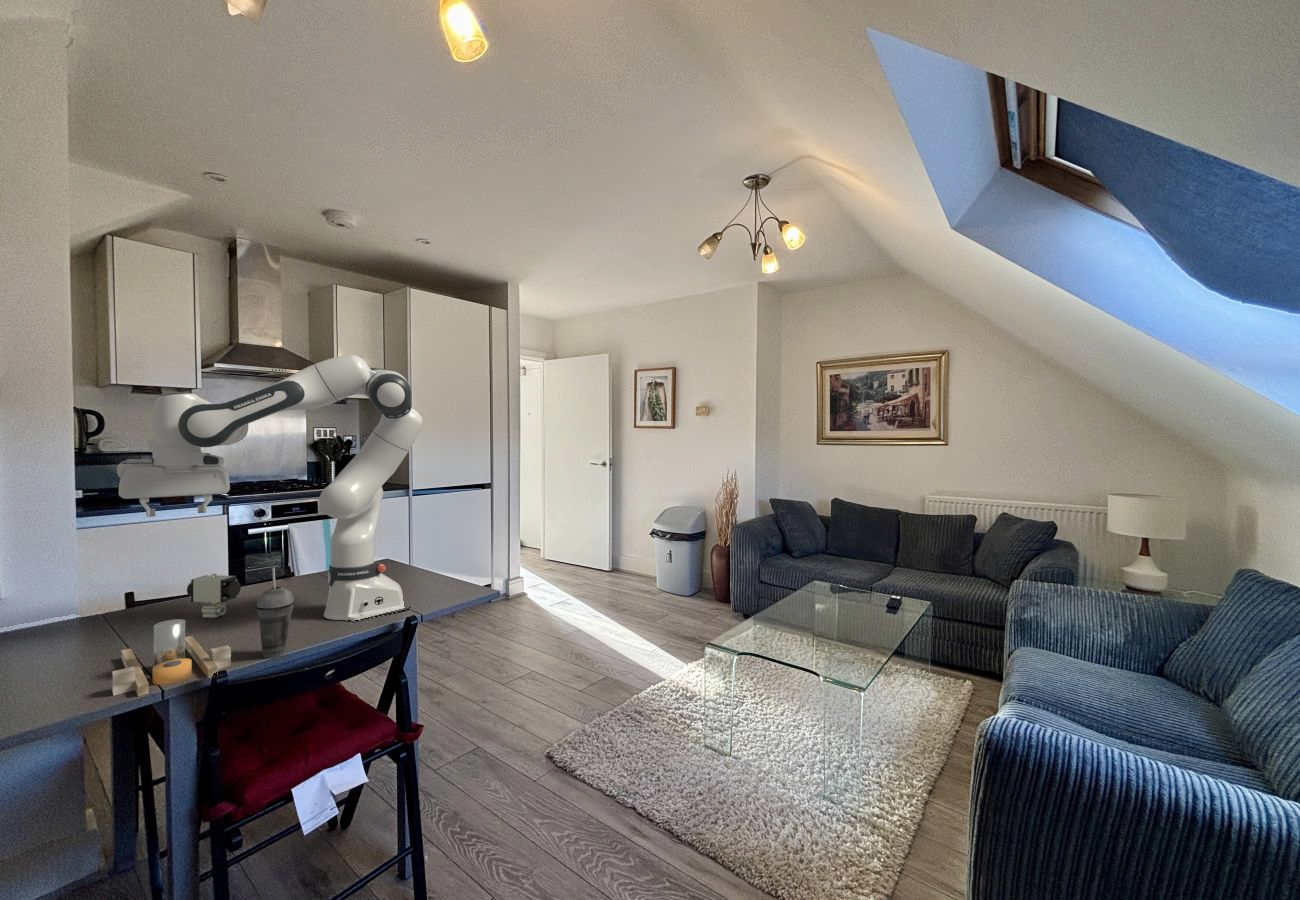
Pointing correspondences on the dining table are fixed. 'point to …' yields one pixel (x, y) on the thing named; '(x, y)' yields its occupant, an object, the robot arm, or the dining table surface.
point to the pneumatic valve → (213, 593)
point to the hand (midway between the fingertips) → (177, 514)
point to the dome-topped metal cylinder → (169, 640)
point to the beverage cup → (275, 619)
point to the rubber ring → (172, 671)
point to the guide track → (137, 681)
